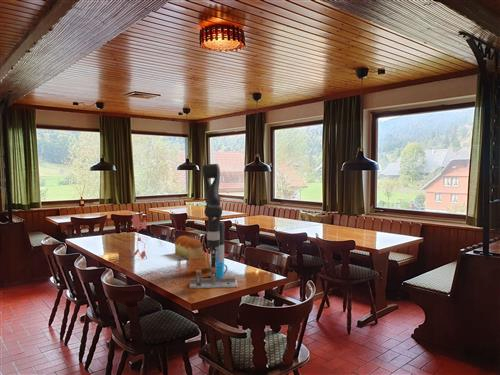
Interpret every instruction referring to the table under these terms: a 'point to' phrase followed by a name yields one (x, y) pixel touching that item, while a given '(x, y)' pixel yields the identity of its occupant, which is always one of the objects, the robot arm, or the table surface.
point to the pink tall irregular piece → (136, 225)
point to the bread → (188, 247)
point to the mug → (220, 269)
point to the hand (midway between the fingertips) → (213, 265)
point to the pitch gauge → (209, 282)
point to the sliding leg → (213, 272)
